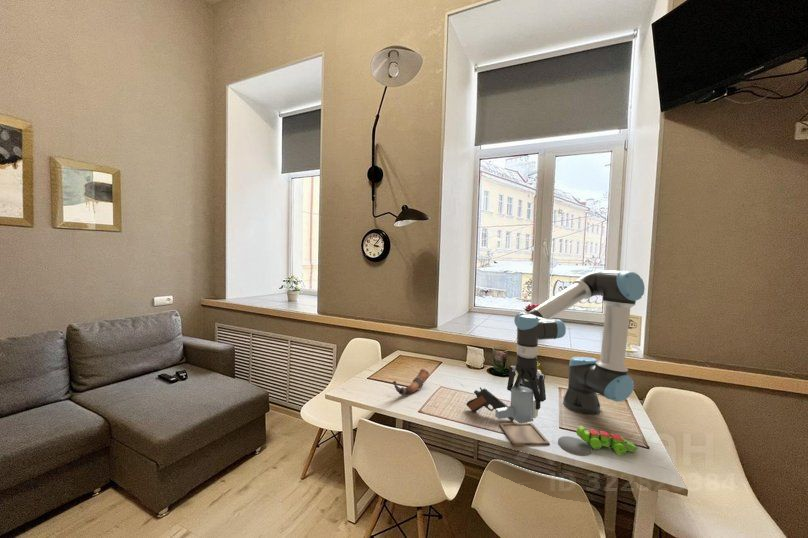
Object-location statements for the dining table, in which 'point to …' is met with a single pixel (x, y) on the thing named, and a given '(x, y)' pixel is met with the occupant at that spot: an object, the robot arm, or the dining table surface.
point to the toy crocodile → (606, 440)
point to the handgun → (485, 401)
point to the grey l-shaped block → (518, 405)
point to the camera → (526, 382)
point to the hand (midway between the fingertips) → (525, 412)
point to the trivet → (574, 445)
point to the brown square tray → (523, 434)
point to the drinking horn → (413, 383)
